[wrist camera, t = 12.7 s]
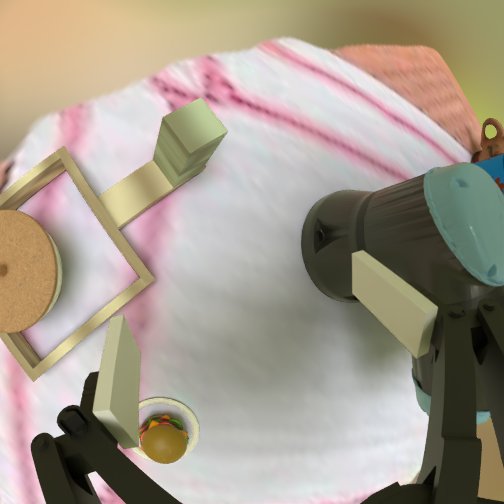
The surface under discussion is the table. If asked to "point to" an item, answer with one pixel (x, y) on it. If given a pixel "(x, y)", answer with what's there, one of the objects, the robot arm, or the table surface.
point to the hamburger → (166, 434)
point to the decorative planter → (490, 142)
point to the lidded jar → (26, 271)
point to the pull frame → (121, 206)
